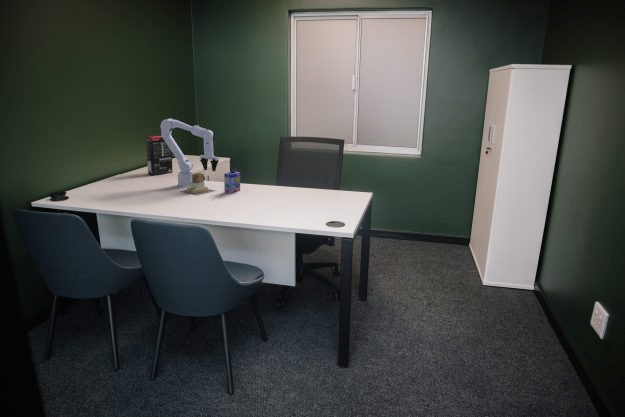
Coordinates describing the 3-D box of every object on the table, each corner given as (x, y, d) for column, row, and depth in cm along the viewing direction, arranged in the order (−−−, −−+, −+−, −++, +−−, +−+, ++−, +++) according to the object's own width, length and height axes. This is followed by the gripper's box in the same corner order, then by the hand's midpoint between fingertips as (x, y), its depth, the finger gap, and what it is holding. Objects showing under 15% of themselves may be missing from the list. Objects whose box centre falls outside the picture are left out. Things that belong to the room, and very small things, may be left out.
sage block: (190, 187, 272) (189, 182, 271) (197, 185, 277) (197, 180, 276) (197, 188, 269) (196, 183, 268) (204, 186, 274) (204, 182, 273)
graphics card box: (167, 171, 331) (165, 134, 324) (173, 172, 327) (171, 135, 320) (147, 174, 318) (144, 136, 310) (153, 176, 314) (150, 137, 307)
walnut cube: (192, 182, 272) (191, 174, 270) (197, 180, 276) (196, 172, 275) (199, 183, 270) (198, 175, 268) (204, 181, 274) (203, 173, 273)
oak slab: (186, 191, 272) (186, 187, 272) (197, 188, 279) (197, 184, 279) (197, 193, 267) (196, 189, 267) (208, 190, 275) (207, 186, 274)
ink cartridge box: (231, 194, 270) (230, 170, 266) (224, 193, 272) (223, 169, 268) (241, 191, 278) (240, 168, 274) (233, 190, 281) (233, 167, 277)
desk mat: (178, 192, 271) (178, 191, 271) (198, 187, 284) (198, 186, 284) (196, 196, 263) (196, 195, 263) (216, 191, 276) (216, 190, 276)
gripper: (221, 149, 281) (222, 170, 285) (205, 147, 289) (206, 168, 293) (213, 151, 275) (214, 172, 279) (197, 149, 283) (198, 170, 287)
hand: (209, 170), depth 285 cm, fingers open, 7 cm apart
